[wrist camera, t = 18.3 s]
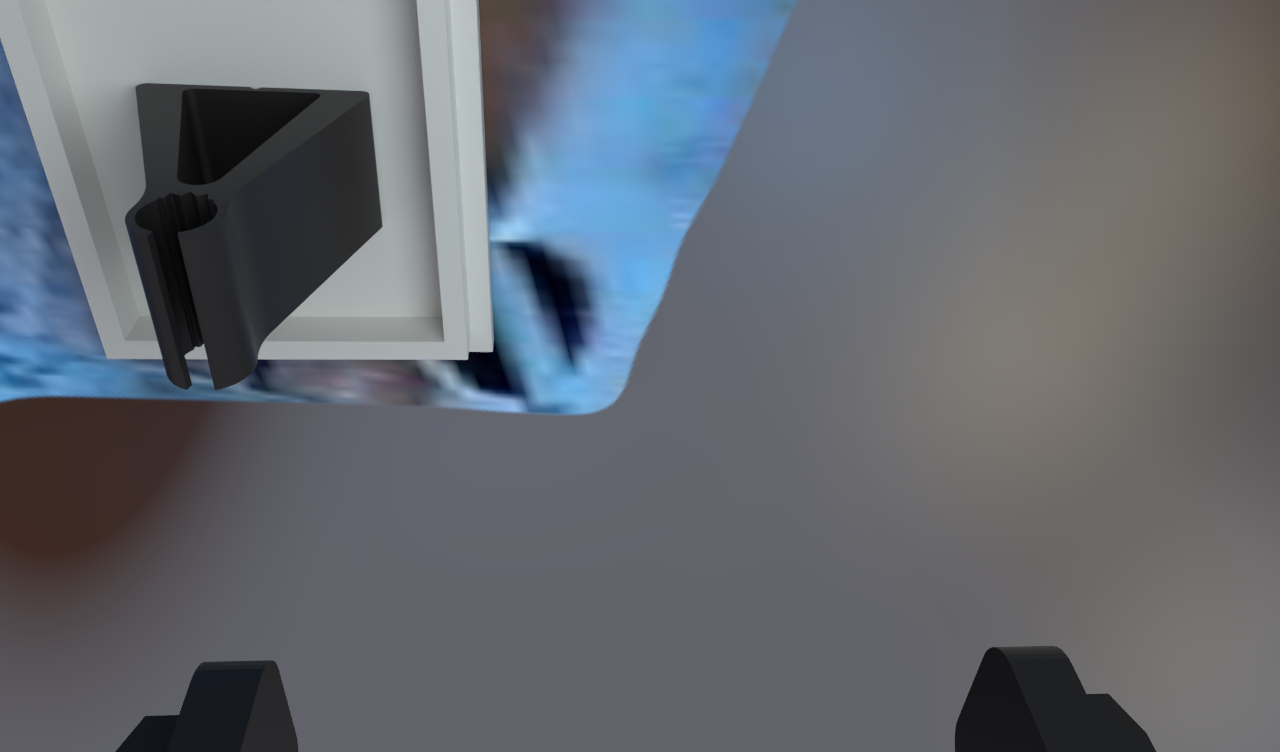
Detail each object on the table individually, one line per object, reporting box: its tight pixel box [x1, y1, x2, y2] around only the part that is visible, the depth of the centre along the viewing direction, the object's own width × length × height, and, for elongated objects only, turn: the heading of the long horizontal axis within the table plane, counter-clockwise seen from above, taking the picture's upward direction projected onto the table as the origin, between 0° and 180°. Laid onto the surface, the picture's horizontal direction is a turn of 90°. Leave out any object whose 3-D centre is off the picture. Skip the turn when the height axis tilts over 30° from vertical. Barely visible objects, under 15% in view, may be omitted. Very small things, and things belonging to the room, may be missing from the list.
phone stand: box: [125, 83, 383, 390], centre depth 37 cm, size 9×6×12 cm, turn 86°
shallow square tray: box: [0, 0, 494, 360], centre depth 42 cm, size 18×20×3 cm
